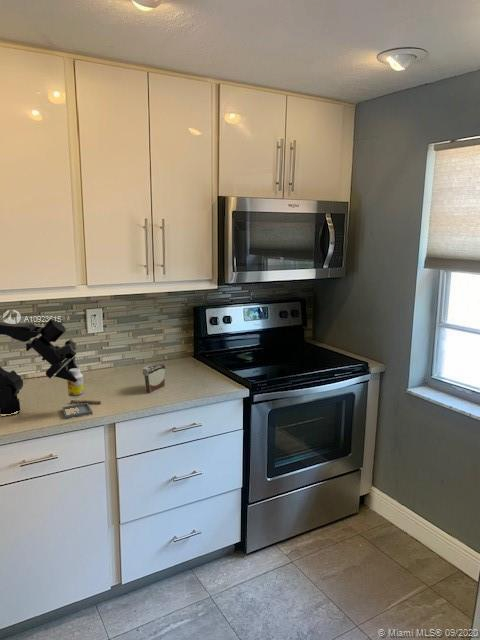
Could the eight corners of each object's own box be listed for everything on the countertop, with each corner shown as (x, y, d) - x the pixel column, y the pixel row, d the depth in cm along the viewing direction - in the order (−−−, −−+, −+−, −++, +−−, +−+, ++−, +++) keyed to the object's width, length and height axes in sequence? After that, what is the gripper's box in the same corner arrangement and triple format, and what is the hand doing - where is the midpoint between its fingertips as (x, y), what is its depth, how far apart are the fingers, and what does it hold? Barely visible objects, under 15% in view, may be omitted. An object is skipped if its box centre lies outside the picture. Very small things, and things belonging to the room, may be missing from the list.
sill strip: (70, 403, 186) (70, 401, 186) (71, 402, 187) (71, 400, 187) (100, 404, 185) (100, 401, 185) (101, 403, 187) (101, 400, 186)
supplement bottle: (66, 394, 177) (64, 368, 175) (81, 391, 181) (79, 366, 178) (70, 399, 173) (68, 372, 171) (85, 396, 176) (84, 370, 174)
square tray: (65, 419, 171) (65, 416, 171) (62, 409, 180) (62, 407, 179) (92, 414, 176) (92, 411, 175) (88, 405, 184) (87, 402, 184)
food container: (156, 383, 210) (155, 362, 208) (167, 385, 206) (166, 364, 204) (137, 391, 199) (136, 369, 197) (148, 394, 196) (147, 371, 194)
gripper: (52, 341, 163) (86, 372, 165) (69, 329, 181) (99, 357, 184) (31, 363, 164) (65, 393, 167) (50, 349, 182) (80, 376, 185)
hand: (78, 378), depth 175 cm, fingers closed on supplement bottle, 5 cm apart
